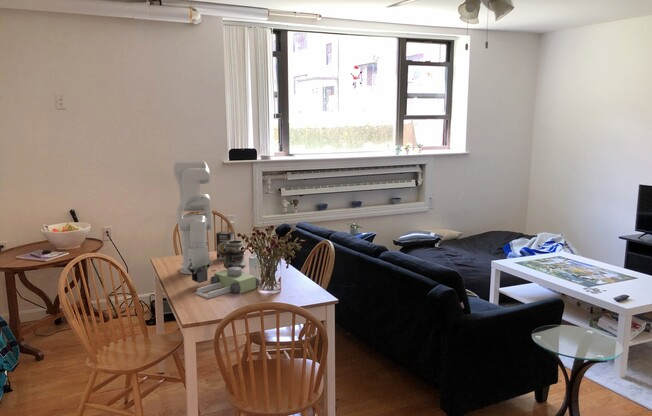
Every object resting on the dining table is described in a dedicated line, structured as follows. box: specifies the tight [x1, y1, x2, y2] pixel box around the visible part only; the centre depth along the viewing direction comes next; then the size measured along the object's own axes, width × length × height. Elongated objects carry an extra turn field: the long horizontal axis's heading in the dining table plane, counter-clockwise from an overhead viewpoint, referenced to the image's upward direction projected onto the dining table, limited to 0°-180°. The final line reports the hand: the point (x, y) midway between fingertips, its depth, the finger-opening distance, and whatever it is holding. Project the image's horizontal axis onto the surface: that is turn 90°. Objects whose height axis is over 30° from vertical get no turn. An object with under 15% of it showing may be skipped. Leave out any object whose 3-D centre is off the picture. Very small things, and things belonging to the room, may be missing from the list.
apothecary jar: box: [223, 239, 247, 273], centre depth 274 cm, size 12×12×18 cm
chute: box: [191, 266, 209, 284], centre depth 254 cm, size 6×5×7 cm
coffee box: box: [215, 230, 235, 261], centre depth 305 cm, size 9×6×16 cm
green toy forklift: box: [195, 267, 261, 299], centre depth 250 cm, size 21×26×9 cm
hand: (199, 278), depth 255 cm, fingers closed on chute, 5 cm apart
